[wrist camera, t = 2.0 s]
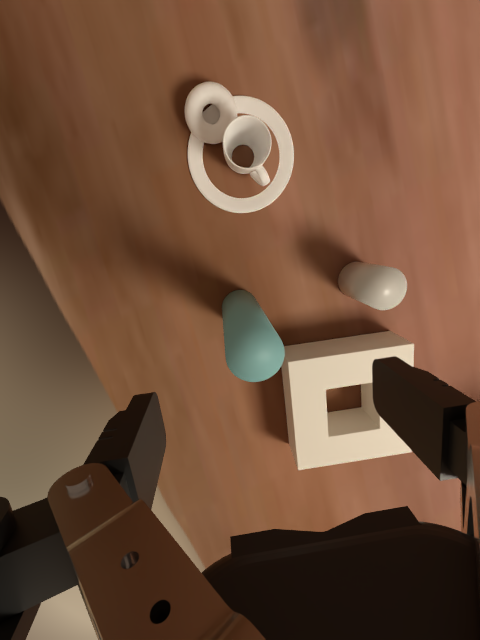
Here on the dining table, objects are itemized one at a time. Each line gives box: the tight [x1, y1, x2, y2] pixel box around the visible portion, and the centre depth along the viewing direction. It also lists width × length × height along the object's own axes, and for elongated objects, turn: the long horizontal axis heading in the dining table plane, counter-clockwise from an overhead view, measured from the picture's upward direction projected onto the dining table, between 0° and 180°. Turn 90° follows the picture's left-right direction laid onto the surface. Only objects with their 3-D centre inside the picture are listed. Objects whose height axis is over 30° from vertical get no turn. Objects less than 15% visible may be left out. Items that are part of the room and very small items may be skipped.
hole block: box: [281, 331, 414, 470], centre depth 27 cm, size 10×10×4 cm
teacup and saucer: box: [185, 82, 294, 213], centre depth 22 cm, size 9×8×4 cm
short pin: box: [338, 262, 407, 310], centre depth 24 cm, size 3×3×5 cm
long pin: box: [222, 290, 285, 382], centre depth 21 cm, size 3×3×11 cm
